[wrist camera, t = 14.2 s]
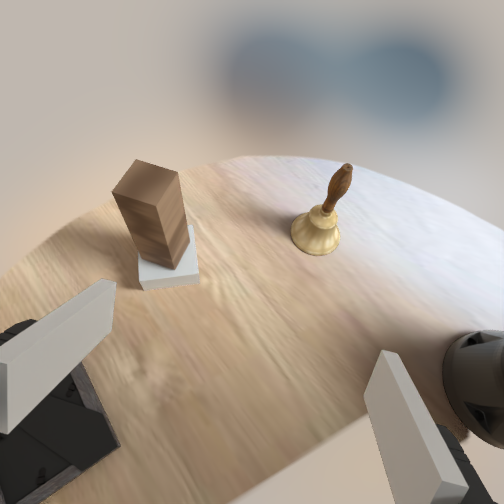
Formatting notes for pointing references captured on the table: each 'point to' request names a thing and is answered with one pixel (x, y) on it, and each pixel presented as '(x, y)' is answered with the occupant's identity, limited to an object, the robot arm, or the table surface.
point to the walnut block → (154, 212)
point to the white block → (171, 270)
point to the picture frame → (55, 442)
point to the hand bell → (322, 218)
